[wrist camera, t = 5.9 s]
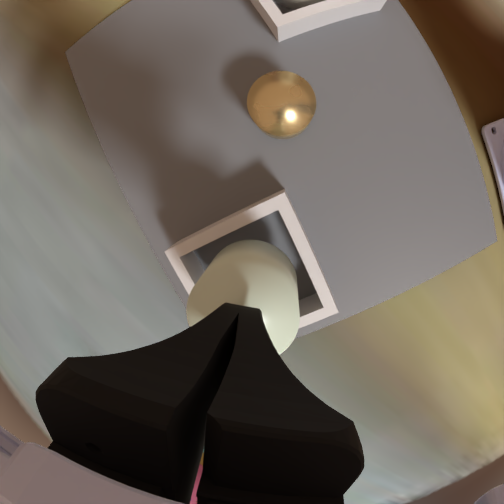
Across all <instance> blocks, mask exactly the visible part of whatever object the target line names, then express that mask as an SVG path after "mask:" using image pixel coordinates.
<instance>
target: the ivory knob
mask: <svg viewBox="0 0 504 504" xmlns="http://www.w3.org/2000/svg"><path fill="white" fill-rule="evenodd" d="M274 1H275V2H277V3H278V4H280V5H282V6H285V7H287V8H290V9H294V10H297V9H300V8H303V7H306V6H309V5H312V4H315V3H319V2H322V1H325V0H274Z"/></svg>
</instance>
